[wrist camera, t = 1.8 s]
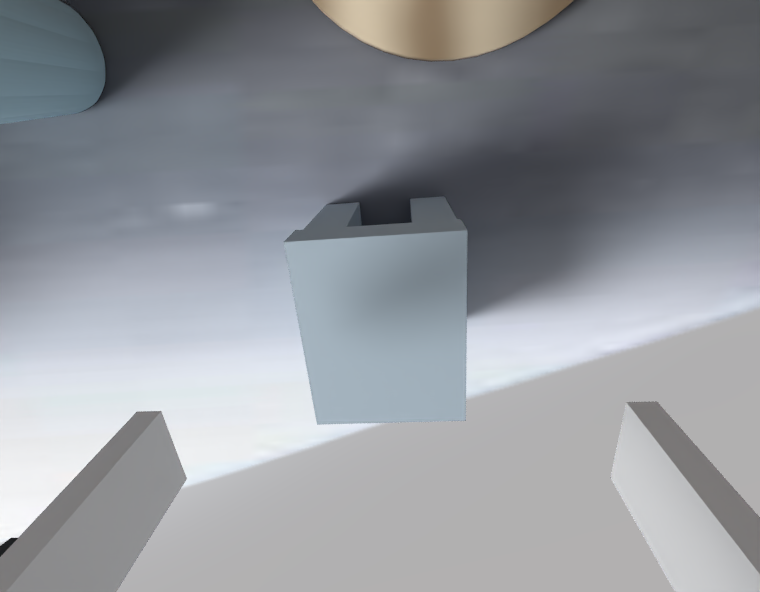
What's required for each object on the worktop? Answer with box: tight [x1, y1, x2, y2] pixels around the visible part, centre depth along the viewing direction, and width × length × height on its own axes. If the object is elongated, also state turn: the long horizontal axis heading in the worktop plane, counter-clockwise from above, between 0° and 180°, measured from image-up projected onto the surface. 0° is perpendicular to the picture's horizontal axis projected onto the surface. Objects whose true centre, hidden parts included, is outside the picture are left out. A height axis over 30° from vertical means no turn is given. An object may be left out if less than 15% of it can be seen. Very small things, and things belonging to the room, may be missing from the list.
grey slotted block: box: [284, 196, 467, 424], centre depth 21 cm, size 7×9×9 cm
